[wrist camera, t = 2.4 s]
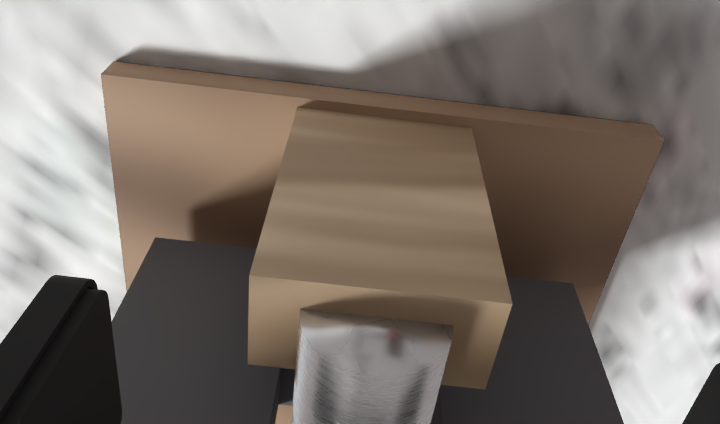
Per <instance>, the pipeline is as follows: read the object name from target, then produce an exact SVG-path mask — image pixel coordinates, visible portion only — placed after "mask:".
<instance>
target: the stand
mask: <svg viewBox="0 0 720 424" xmlns="http://www.w3.org/2000/svg"><path fill="white" fill-rule="evenodd" d="M101 79H102V87H103V96H104V104H105V113H106V121H107V129H108V138H109V146H110V155H111V163H112V171H113V180H114V188H115V197H116V205H117V213H118V222H119V230H120V239H121V247H122V255H123V264H124V272H125V281H126V289H127V291H128V289H129V287H130V285H131V283H132V281H133V279H134V278H135V276H136V274H137V272H138V270H139V268H140V266H141V264H142V262H143V260H144V258H145V256H146V254H147V252H148V250H149V248H150V246H151V244H152V243H153V241H154V239H155V237H158V238H167V239H176V240H185V241H194V242H203V243H212V244H221V245H231V246H240V247H249V248H257V249H256V253H255V256H254V260H253V263H252V267H251V270H250V274H249V311H248V364H249V365H259V366H268V367H278V368H287V369H296V356H297V343H298V330H299V317H300V309H307V310H317V311H326V312H335V313H344V314H353V315H363V316H372V317H381V318H390V319H400V320H409V321H418V322H427V323H436V324H446V325H453V338H452V342H451V346H450V350H449V354H448V358H447V362H446V365H445V369H444V373H443V377H442V381H441V385H448V386H457V387H467V388H476V389H486V386H487V383H488V379H489V376H490V373H491V370H492V367H493V364H494V361H495V357H496V354H497V351H498V348H499V345H500V342H501V339H502V335H503V332H504V329H505V326H506V323H507V320H508V317H509V314H510V310H511V307H512V300H511V295H510V291H509V287H508V282H507V278H506V276H510V277H519V278H528V279H537V280H546V281H556V282H565V283H573V285H574V287H575V290H576V293H577V296H578V298H579V301H580V304H581V307H582V309H583V312H584V315H585V318H586V321H587V323H588V324H589V321H590V319H591V316H592V314H593V312H594V309H595V307H596V304H597V302H598V300H599V297H600V295H601V292H602V290H603V288H604V285H605V283H606V280H607V278H608V276H609V273H610V271H611V268H612V266H613V263H614V261H615V259H616V256H617V254H618V251H619V249H620V247H621V244H622V242H623V239H624V237H625V235H626V232H627V230H628V227H629V225H630V222H631V220H632V218H633V215H634V213H635V210H636V208H637V206H638V203H639V201H640V198H641V196H642V194H643V191H644V189H645V186H646V184H647V181H648V179H649V177H650V174H651V172H652V169H653V167H654V165H655V162H656V160H657V157H658V155H659V153H660V150H661V148H662V145H663V143H664V139H663V138H662V137H661V135H660V134H659V133H658V131H657V130H656V129H655V127H654V126H653V125H648V124H640V123H631V122H623V121H614V120H606V119H597V118H589V117H580V116H572V115H563V114H555V113H546V112H538V111H529V110H521V109H513V108H504V107H496V106H487V105H479V104H470V103H462V102H453V101H445V100H436V99H428V98H419V97H411V96H402V95H394V94H385V93H377V92H368V91H360V90H351V89H343V88H334V87H326V86H317V85H309V84H301V83H292V82H284V81H275V80H267V79H258V78H250V77H241V76H233V75H224V74H216V73H207V72H199V71H190V70H182V69H173V68H165V67H156V66H148V65H139V64H131V63H122V62H113V63H112V64H111V65H110V66H109V67H108V68H107V69H106V70H105V71H104V72H103V73H102V74H101ZM292 408H293V406H289V405H278V410H277V416H276V422H275V424H291V421H292Z"/></svg>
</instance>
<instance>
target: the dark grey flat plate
mask: <svg viewBox="0 0 720 424" xmlns="http://www.w3.org/2000/svg"><path fill="white" fill-rule="evenodd" d="M256 249H257V248H249V247H240V246H231V245H221V244H212V243H203V242H194V241H185V240H176V239H167V238H158V237H155V239H154V241H153V243H152V244H151V246H150V248H149V250H148V252H147V254H146V256H145V258H144V260H143V262H142V264H141V266H140V268H139V270H138V272H137V274H136V276H135V278H134V279H133V281H132V283H131V285H130V287H129V289H128V291H127V293H126V295H125V297H124V299H123V301H122V303H121V305H120V307H119V309H118V311H117V312H116V314H115V316H114V318H113V320H112V322H111V323H112V331H113V339H114V347H115V355H116V363H117V371H118V380H119V388H120V396H121V404H122V420H121V424H275V422H276V416H277V410H278V405H289V406H293V395H294V382H295V369H287V368H278V367H268V366H259V365H249V364H248V311H249V274H250V270H251V267H252V263H253V260H254V256H255V253H256ZM506 278H507V282H508V287H509V291H510V295H511V300H512V307H511V310H510V314H509V317H508V320H507V323H506V326H505V329H504V332H503V335H502V339H501V342H500V345H499V348H498V351H497V354H496V357H495V361H494V364H493V367H492V370H491V373H490V376H489V379H488V383H487V386H486V389H476V388H467V387H457V386H448V385H440V388H439V392H438V396H437V400H436V404H435V408H434V411H433V415H432V419H431V423H430V424H624V423H623V420H622V417H621V415H620V412H619V409H618V406H617V404H616V401H615V398H614V395H613V392H612V390H611V387H610V384H609V381H608V379H607V376H606V373H605V370H604V368H603V365H602V362H601V359H600V357H599V354H598V351H597V348H596V345H595V343H594V340H593V337H592V334H591V332H590V329H589V326H588V323H587V321H586V318H585V315H584V312H583V309H582V307H581V304H580V301H579V298H578V296H577V293H576V290H575V287H574V285H573V283H565V282H556V281H546V280H537V279H528V278H519V277H510V276H506Z"/></svg>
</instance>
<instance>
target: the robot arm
mask: <svg viewBox="0 0 720 424" xmlns="http://www.w3.org/2000/svg"><path fill="white" fill-rule="evenodd" d="M121 420H122V404H121V396H120V388H119V380H118V371H117V363H116V355H115V347H114V339H113V331H112V323H111V315H110V307H109V299H108V294H107V292H106V291H104V290H98V289H97V284H96V283H95V281H94V280H92V279H85V278H77V277H68V276H60V275H54V276H52V277H50V278H49V280H48V281H47V282H46V283H45V284H44V286H43V287H42V288H41V290H40V291H39V293H38V294H37V295H36V297H35V298H34V299H33V301H32V302H31V303H30V305H29V306H28V307H27V309H26V310H25V311H24V313H23V314H22V316H21V317H20V318H19V320H18V321H17V322H16V324H15V325H14V326H13V328H12V329H11V330H10V332H9V333H8V334H7V336H6V337H5V339H4V340H3V341H2V343H1V344H0V424H121ZM682 424H720V363H719V364H717V365H716V366H715V367H714V368H713V370H712V372H711V373H710V375H709V377H708V379H707V380H706V382H705V384H704V386H703V388H702V389H701V391H700V393H699V395H698V397H697V398H696V400H695V402H694V404H693V406H692V407H691V409H690V411H689V413H688V415H687V416H686V418H685V420H684V422H683V423H682Z"/></svg>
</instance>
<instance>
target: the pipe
mask: <svg viewBox="0 0 720 424" xmlns="http://www.w3.org/2000/svg"><path fill="white" fill-rule="evenodd" d="M452 338H453V325H446V324H436V323H427V322H418V321H409V320H400V319H390V318H381V317H372V316H363V315H353V314H344V313H335V312H326V311H317V310H307V309H300V317H299V330H298V343H297V356H296V369H295V382H294V395H293V408H292V421H291V424H430V423H431V419H432V415H433V411H434V408H435V404H436V400H437V396H438V392H439V388H440V385H441V381H442V377H443V373H444V369H445V365H446V362H447V358H448V354H449V350H450V346H451V342H452Z"/></svg>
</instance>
